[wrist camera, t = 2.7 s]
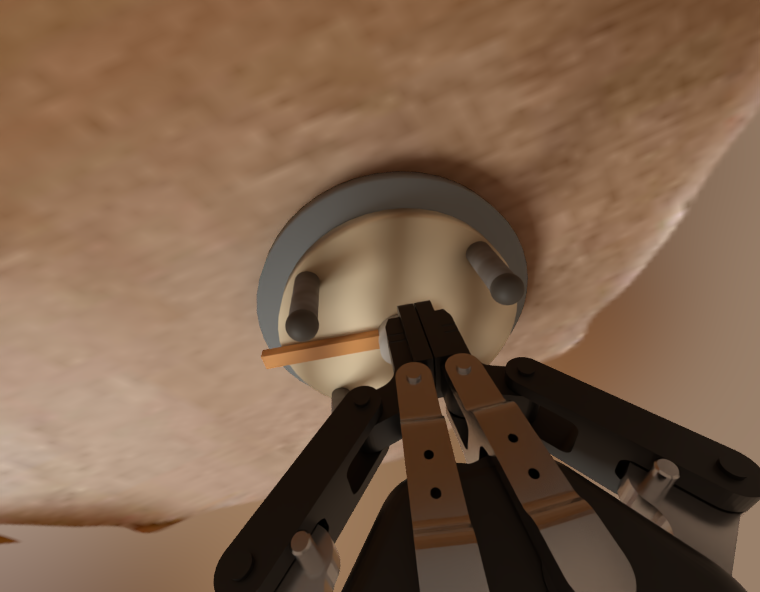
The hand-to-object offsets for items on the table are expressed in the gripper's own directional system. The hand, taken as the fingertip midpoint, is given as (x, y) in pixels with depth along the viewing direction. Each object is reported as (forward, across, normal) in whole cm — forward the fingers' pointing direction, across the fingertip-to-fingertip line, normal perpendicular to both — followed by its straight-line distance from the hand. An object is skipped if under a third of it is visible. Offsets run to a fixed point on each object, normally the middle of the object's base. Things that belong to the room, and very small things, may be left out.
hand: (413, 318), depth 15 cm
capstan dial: (+11, 0, +9) cm, 14 cm away
